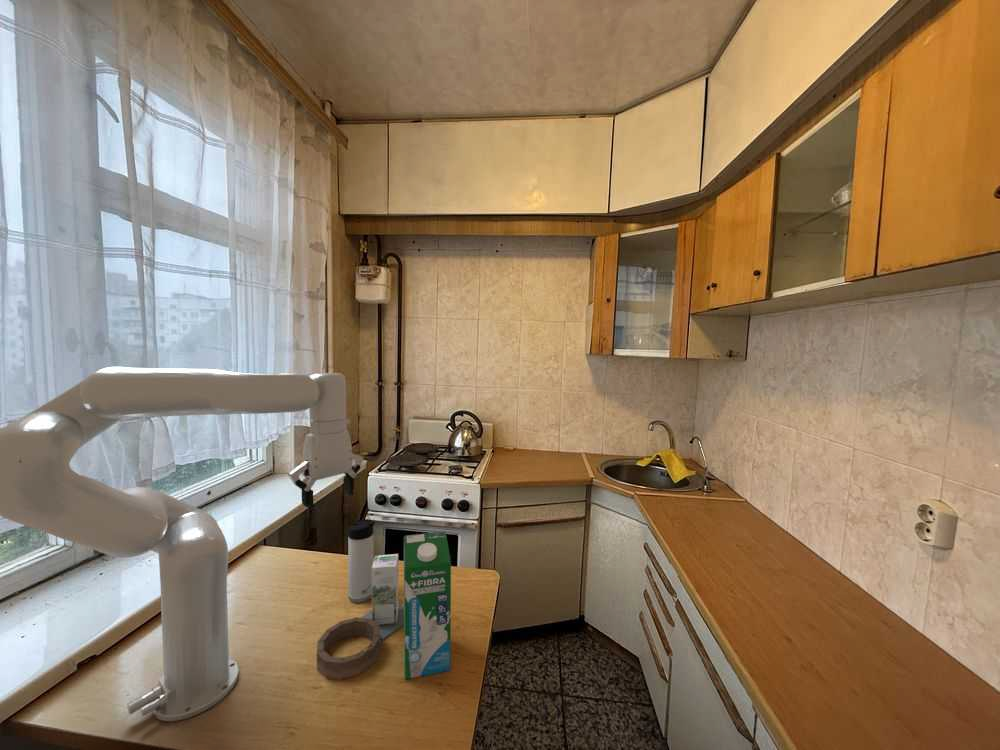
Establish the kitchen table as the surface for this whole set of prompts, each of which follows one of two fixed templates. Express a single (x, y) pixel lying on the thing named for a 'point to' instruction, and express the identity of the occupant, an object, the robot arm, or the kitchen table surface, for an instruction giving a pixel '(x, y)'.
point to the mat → (391, 628)
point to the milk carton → (427, 604)
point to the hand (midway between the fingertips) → (329, 500)
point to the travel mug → (360, 560)
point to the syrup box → (385, 589)
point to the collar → (353, 663)
